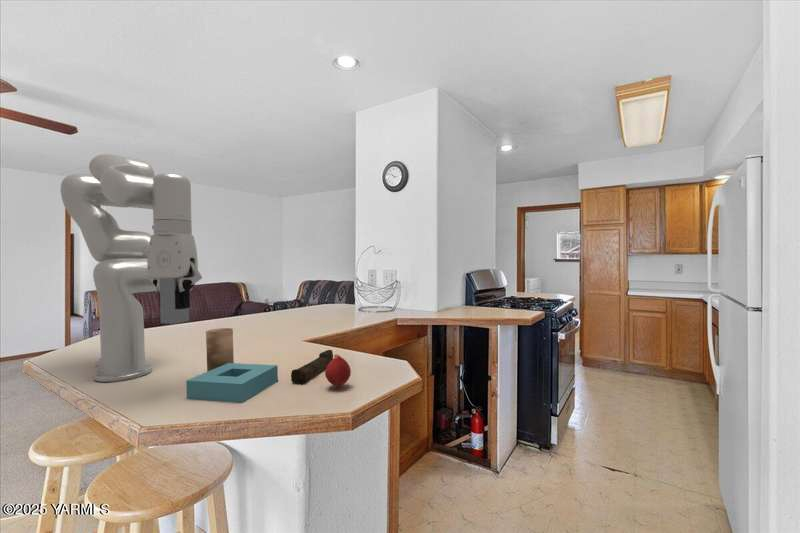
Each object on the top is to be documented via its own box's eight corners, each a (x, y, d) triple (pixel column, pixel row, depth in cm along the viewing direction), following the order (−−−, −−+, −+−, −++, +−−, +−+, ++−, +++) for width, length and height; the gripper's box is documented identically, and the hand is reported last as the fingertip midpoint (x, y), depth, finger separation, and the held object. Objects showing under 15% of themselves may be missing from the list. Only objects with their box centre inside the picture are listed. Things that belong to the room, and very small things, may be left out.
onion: (341, 381, 91) (340, 349, 91) (355, 387, 87) (355, 353, 87) (321, 388, 87) (320, 354, 87) (335, 394, 83) (334, 358, 83)
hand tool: (304, 386, 89) (304, 367, 89) (290, 384, 90) (289, 365, 90) (341, 364, 107) (341, 348, 107) (329, 363, 108) (328, 347, 108)
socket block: (186, 398, 82) (186, 380, 82) (229, 378, 96) (228, 362, 95) (242, 402, 79) (241, 383, 79) (277, 381, 93) (277, 365, 92)
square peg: (160, 323, 84) (159, 270, 84) (174, 320, 88) (173, 269, 88) (175, 323, 83) (174, 270, 83) (189, 320, 87) (188, 269, 87)
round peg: (201, 378, 96) (200, 332, 96) (218, 371, 102) (217, 327, 102) (223, 379, 95) (221, 333, 94) (239, 372, 101) (237, 328, 101)
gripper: (128, 228, 83) (130, 309, 84) (191, 227, 80) (193, 311, 80) (156, 231, 91) (158, 305, 91) (215, 229, 87) (217, 307, 88)
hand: (174, 307), depth 86 cm, fingers closed on square peg, 4 cm apart
